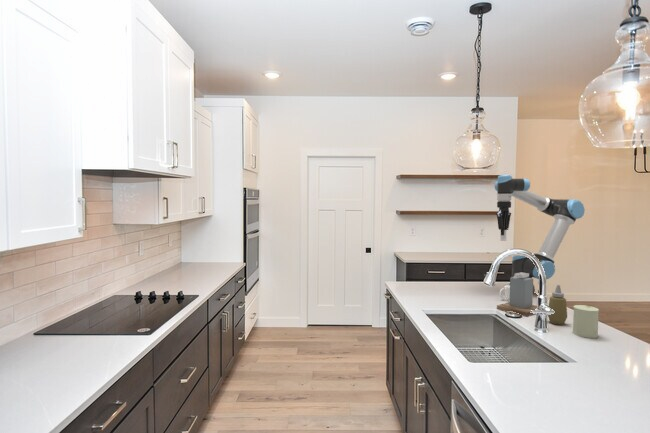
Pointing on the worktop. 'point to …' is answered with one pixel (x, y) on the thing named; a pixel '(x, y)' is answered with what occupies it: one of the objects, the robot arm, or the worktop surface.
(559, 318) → the squeeze bottle
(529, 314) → the walnut caddy
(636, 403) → the worktop surface
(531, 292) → the soap dispenser
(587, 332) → the can
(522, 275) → the pump head
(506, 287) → the cup
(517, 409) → the worktop surface
